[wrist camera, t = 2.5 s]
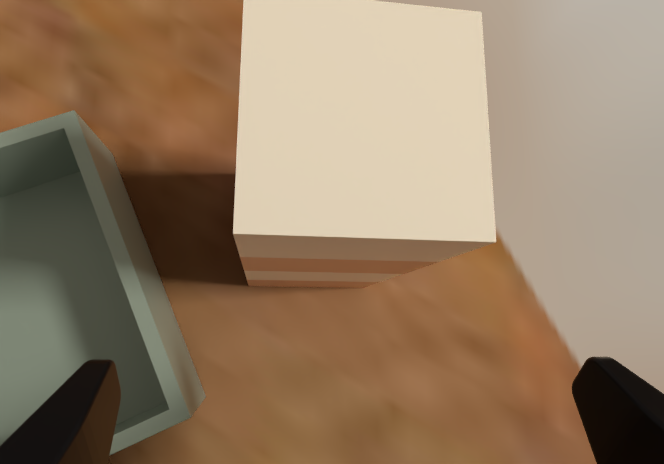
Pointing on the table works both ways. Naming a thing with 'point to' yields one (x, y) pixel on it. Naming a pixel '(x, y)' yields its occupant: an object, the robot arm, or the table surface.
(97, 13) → the table surface
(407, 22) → the tile stack
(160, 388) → the box
